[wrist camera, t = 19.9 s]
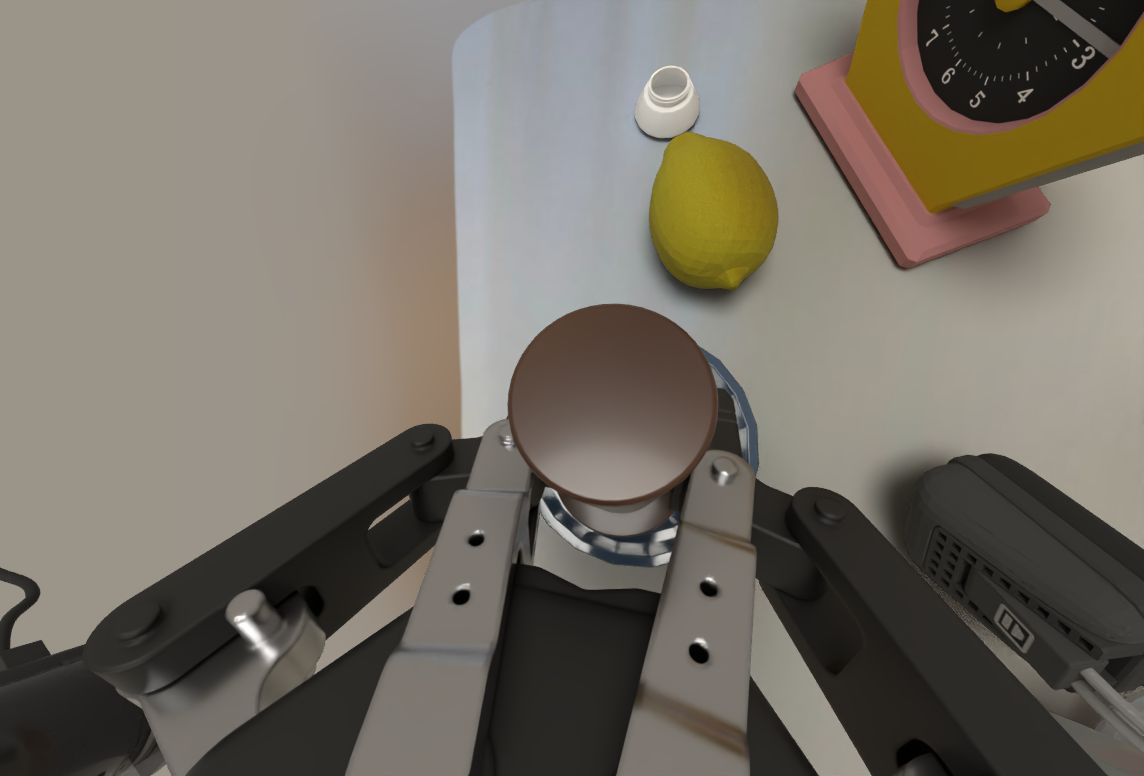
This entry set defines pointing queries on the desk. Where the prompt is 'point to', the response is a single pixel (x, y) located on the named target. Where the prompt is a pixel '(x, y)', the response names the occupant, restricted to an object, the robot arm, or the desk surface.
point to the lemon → (711, 212)
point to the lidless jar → (667, 103)
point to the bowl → (660, 540)
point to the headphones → (1037, 576)
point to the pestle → (613, 414)
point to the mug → (1109, 742)
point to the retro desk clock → (977, 111)
